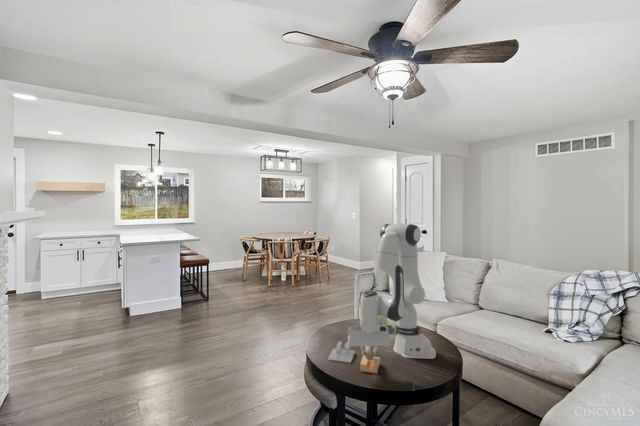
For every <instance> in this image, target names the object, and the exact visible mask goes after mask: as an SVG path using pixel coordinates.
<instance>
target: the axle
mask: <svg viewBox="0 0 640 426" xmlns="http://www.w3.org/2000/svg"><path fill="white" fill-rule="evenodd" d="M364 350H365V352H366V353H365V355H364V356H366V359H368V360H373V355H372V350H373V349H372V346H364Z"/></svg>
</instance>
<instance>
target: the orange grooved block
mask: <svg viewBox="0 0 640 426" xmlns="http://www.w3.org/2000/svg"><path fill="white" fill-rule="evenodd" d="M361 357H362V358H361V361H360V363H359V366H360V372H364V373H372V374H378V371H379V367H380V363H381V362H380V359H381V358H380V357H379V356H373V357H372V359H371V360H368V359H366V356H365V355H362V356H361Z"/></svg>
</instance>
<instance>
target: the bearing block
mask: <svg viewBox="0 0 640 426" xmlns="http://www.w3.org/2000/svg"><path fill="white" fill-rule="evenodd" d="M342 343H343V341H341V340H339V341H338V342H337V344H336V345H335V347H336V348H335V347H334V348H332V350H331V351H330V354H329V356H328V357H327V361H332V362H341V363H348V364H351V363H352V361H353V359H354V357H355V354H356V351H355V350H352V349H351V350H350V347H351V346H350V345H349V344H348V341H347V342H345V344H344V345H343V348H344V349H342V348H341V347H342V346H341V345H342Z"/></svg>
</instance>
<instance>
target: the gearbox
mask: <svg viewBox="0 0 640 426" xmlns="http://www.w3.org/2000/svg"><path fill="white" fill-rule="evenodd" d="M378 319H379V322H383V323H385V324H386V325H387V326H388V318H385V317H382V316H378Z"/></svg>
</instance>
